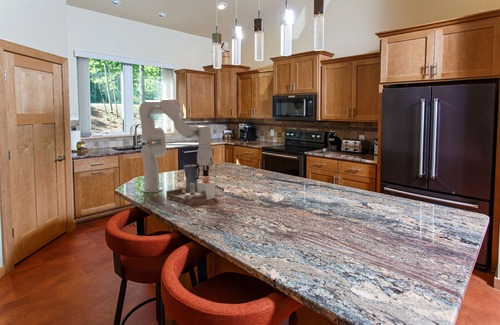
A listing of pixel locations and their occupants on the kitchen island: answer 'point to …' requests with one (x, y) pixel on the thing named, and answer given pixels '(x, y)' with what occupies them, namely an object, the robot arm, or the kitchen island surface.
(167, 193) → the rail bed
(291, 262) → the kitchen island surface
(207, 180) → the brown egg
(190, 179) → the moka pot
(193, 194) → the square knob plate
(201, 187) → the white knob block
